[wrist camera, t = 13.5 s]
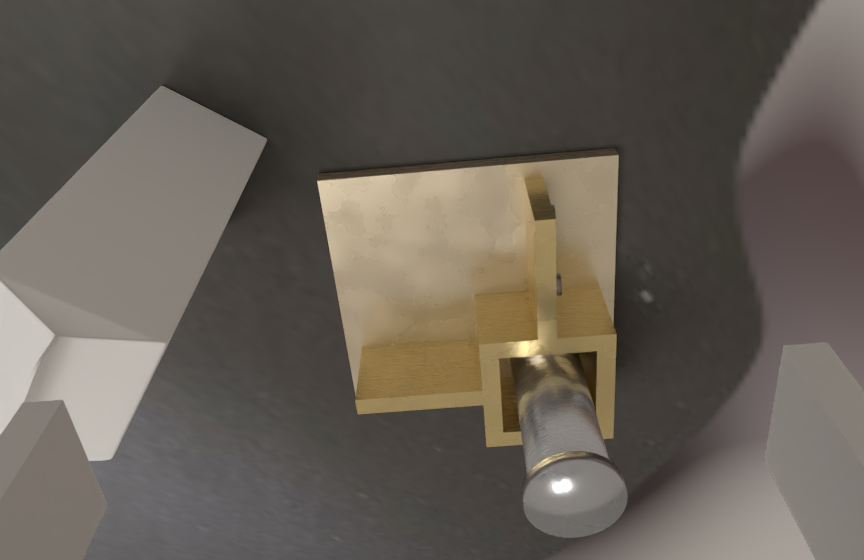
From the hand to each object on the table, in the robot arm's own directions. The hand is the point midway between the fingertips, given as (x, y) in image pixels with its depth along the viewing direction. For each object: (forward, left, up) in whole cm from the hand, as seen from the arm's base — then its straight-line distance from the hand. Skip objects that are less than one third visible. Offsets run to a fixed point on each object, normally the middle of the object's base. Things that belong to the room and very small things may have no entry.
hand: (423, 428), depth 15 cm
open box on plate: (+1, -15, -29) cm, 32 cm away
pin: (+5, -18, -28) cm, 33 cm away
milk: (-13, -5, -29) cm, 32 cm away
